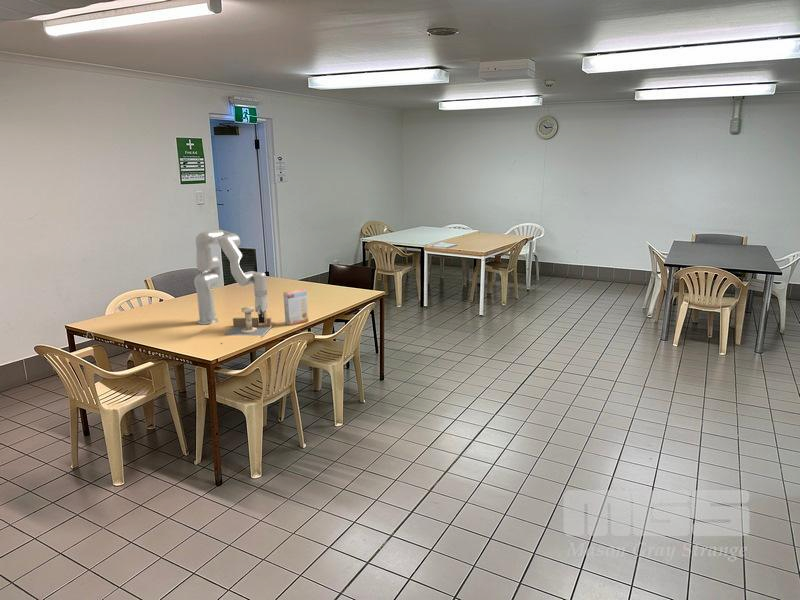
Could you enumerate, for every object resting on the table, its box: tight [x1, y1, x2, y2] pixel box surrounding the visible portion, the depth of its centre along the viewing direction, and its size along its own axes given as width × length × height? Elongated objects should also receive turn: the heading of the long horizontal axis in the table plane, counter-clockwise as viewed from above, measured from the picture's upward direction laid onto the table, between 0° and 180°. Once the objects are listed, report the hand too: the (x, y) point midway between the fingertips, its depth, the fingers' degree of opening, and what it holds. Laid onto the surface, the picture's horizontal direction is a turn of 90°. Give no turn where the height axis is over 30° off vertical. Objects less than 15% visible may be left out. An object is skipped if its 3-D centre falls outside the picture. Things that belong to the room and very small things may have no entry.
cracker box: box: [282, 288, 309, 326], centre depth 342 cm, size 14×6×21 cm, turn 131°
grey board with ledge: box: [223, 317, 273, 339], centre depth 324 cm, size 20×23×6 cm
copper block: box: [257, 310, 268, 325], centre depth 331 cm, size 4×4×7 cm
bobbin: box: [241, 306, 257, 334], centre depth 321 cm, size 9×9×14 cm
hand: (262, 321), depth 332 cm, fingers closed on copper block, 4 cm apart
